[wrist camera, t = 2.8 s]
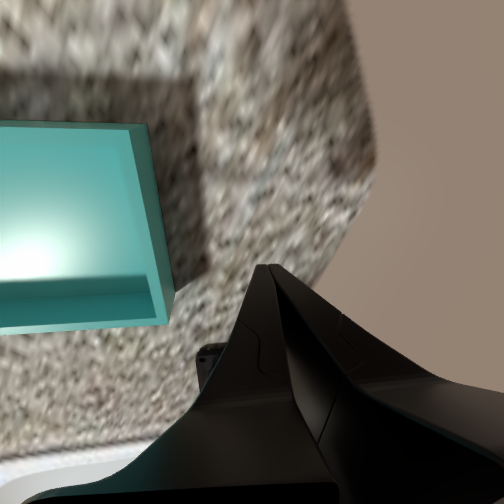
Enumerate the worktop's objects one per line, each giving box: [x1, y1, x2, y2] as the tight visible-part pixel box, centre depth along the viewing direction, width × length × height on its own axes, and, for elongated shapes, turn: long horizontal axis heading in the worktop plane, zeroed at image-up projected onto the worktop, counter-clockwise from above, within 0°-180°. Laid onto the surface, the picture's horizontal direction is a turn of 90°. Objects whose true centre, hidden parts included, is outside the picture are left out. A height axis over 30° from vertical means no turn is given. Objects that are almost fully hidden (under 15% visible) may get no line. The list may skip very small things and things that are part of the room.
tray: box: [0, 120, 175, 335], centre depth 11 cm, size 9×12×2 cm
